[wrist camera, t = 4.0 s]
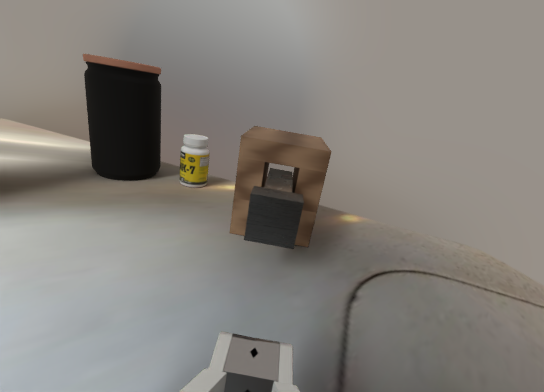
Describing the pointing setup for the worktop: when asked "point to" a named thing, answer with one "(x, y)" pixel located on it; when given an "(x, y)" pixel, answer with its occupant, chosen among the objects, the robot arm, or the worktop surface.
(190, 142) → the supplement bottle
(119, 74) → the coffee jar
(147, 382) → the worktop surface
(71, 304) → the worktop surface
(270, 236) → the plunger
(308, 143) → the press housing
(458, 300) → the worktop surface
